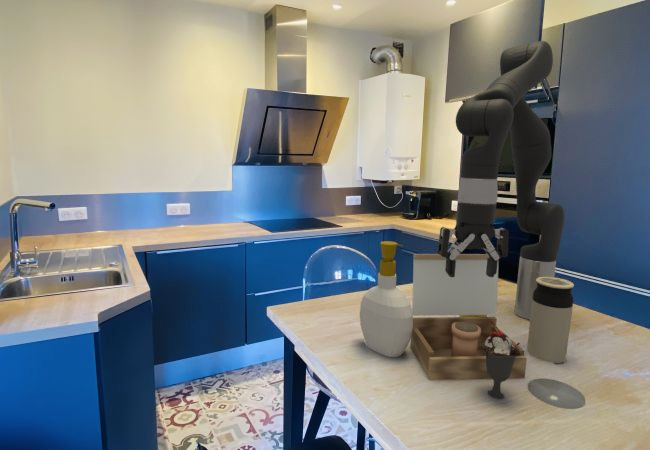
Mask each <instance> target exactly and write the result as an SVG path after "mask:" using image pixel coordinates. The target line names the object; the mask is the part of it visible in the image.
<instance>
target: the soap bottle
mask: <svg viewBox="0 0 650 450" xmlns="http://www.w3.org/2000/svg"><path fill="white" fill-rule="evenodd" d="M397 246H400V247H404V245H403V244H400V243H397V242H396V241H389V240H388V241H380V249H381V250H380V251H381V258H382V259H380V260H379V272H378V274H377V285H376V286H372V287H371V288H369V289H368V290H367V291H366V292H364V294H363V295H362V298H361V301H360V307H359V308H360V309H359V319H360V320H359V325H360V328H361V331H362V335H363V339H364V341H365V344H366V346H367V347H368V348H369V349H371V350H372V351H374V352H376V353H378V354H379V355H382V356H386V357H389V358H398V357H401V356H403V354H404V353H405V352H406V349H407V347H408V346H409V345H410V342H411V334H412V328H413V318H414V316H413V314H412V307H411V306H412V305H411V302H410V301H409V300H408V298H407V296H406V295H405V293H403V292H402V291H401V290H400V289H399V288H397V277H398V276H397V273H396V272H397V271H396V269H397V267H396V266H397V261H396V260H394V259H395V257H396V252H397V251H396V250H397Z"/></svg>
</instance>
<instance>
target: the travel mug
mask: <svg viewBox="0 0 650 450" xmlns="http://www.w3.org/2000/svg"><path fill="white" fill-rule="evenodd" d="M536 282H537V288H536V289H535V290H534V292H533V299H532V308H531V317H530V320H529V327H528V335H527V336H528V338H527V343H526V344H527V346H526V351H527V353H528V354H529V355H530V356H532V357H534V358H536V359H538V360H541V361H546V362H549V363H550V362H551V363H553V364H561V363H565V361H566V359H567V353H568V347H569V346H568V345H569V337H570V330H571V329H570V328H571V323H572V321H571V320H572V313H573V307H574V306H573V305H574V297H573V294H572V289H573V288H574V286H575V284H574V282H572V281H570V280H568V279H564V278H559V277H555V276H554V277H539V278H537V279H536Z"/></svg>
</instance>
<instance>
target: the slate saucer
mask: <svg viewBox="0 0 650 450" xmlns="http://www.w3.org/2000/svg"><path fill="white" fill-rule="evenodd" d="M527 389H528V391H529V393H531V395H532V396H533V397H535V398H536V399H538V400H539V401H541V402H543V403H545V404H547V405H550V406H553V407H557V408H561V409H567V410H568V409H570V410H573V409H579V408H582V407H583V406H585V404H586V398H585V396H584V395H583V393H582V392H581V391H580V390H578V389H577V388H576V387H574V386H572V385H569V384H568V383H565V382H562V381H559V380H556V379H552V378H533V379H531V380H530V381H529V382H528V384H527Z"/></svg>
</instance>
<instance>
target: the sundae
mask: <svg viewBox="0 0 650 450" xmlns="http://www.w3.org/2000/svg"><path fill="white" fill-rule="evenodd" d="M490 323H491V324H492V323H493V326H494V325H495V324H494V321H490ZM495 326H496V328H497V329H499V327H498V326H497V324H496V325H495ZM495 326H494V330H493V331H492V332H490V335H491V336H490V337H488V338H487V339H486V341H485V342H484V343H483V344H482V347H483V348H484V351H485V354H486V368H487V373H488V375H489V376H490V377H491V378H492V379H491V380H493V386H492V389H491V390H488V391H487V395H488V396H489V397H490V398H492V399H495V400H503V399H504V398H505V394H504V393H502V392H501V385H502V383H503V382H505V381H507V380H508V379H510V378H509V377H510V374H511V371H512V367H513V363H514V360H515V358H516V357H518V356H521V354H520V349H519V348H518V347H517V346H519V345H520V342H517V343H516V344H517V345H516V346H515V345H512V341H513V340H512V339H511V337H509V336H508V335H507V334H506V333H504V332H503V331H502V330H501V331H502V332H503V333H504V334H503V333H502V332H501V331H499V330H500V329H499V330H498V332H497V333H496V332H494V331H495Z"/></svg>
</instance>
